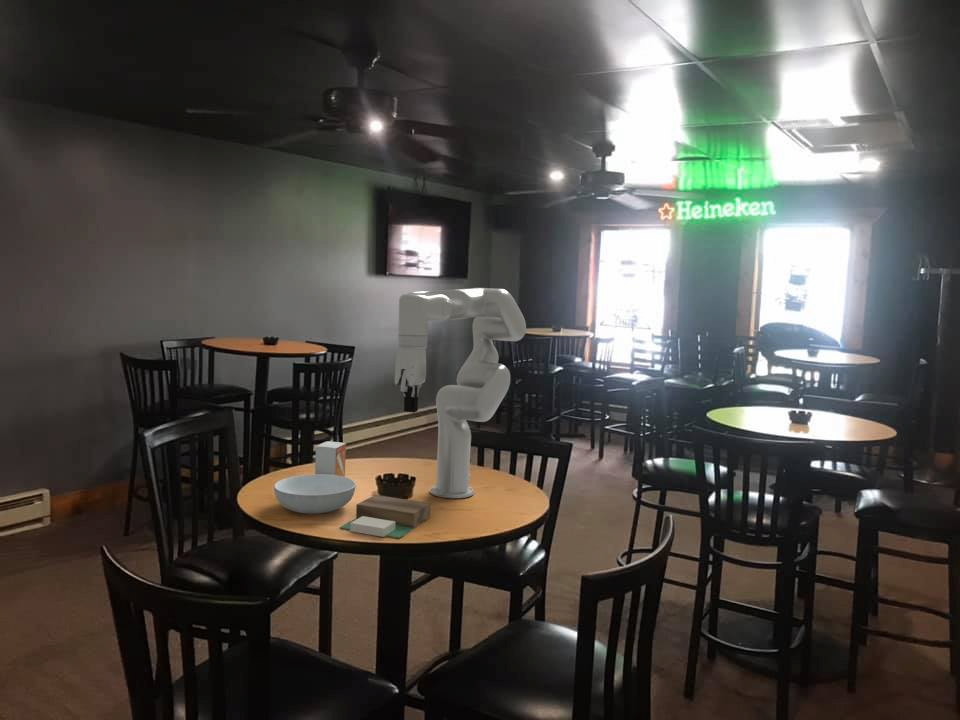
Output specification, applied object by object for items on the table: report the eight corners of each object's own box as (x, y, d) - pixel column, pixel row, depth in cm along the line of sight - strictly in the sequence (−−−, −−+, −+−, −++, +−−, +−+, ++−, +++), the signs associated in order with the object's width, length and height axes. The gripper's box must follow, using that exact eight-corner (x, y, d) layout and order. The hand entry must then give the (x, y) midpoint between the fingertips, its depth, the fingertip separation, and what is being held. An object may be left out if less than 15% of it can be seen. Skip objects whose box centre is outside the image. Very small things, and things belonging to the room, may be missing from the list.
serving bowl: (305, 494, 209) (305, 470, 208) (369, 505, 201) (370, 480, 200) (256, 513, 190) (256, 486, 189) (325, 526, 182) (326, 499, 181)
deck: (374, 509, 197) (375, 494, 197) (429, 518, 192) (430, 503, 191) (356, 519, 188) (356, 504, 187) (413, 529, 182) (414, 513, 182)
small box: (334, 493, 211) (336, 448, 210) (313, 491, 212) (315, 446, 211) (345, 486, 219) (346, 442, 218) (325, 484, 220) (326, 440, 219)
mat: (355, 520, 188) (355, 518, 188) (413, 529, 182) (413, 528, 182) (339, 528, 180) (339, 527, 180) (399, 539, 175) (399, 537, 175)
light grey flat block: (350, 522, 178) (350, 530, 178) (383, 528, 175) (383, 536, 175) (362, 516, 183) (362, 524, 183) (395, 521, 180) (395, 529, 180)
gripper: (411, 339, 201) (409, 406, 203) (386, 342, 187) (384, 414, 189) (437, 340, 198) (435, 408, 200) (413, 344, 184) (411, 417, 186)
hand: (410, 411), depth 195 cm, fingers closed
